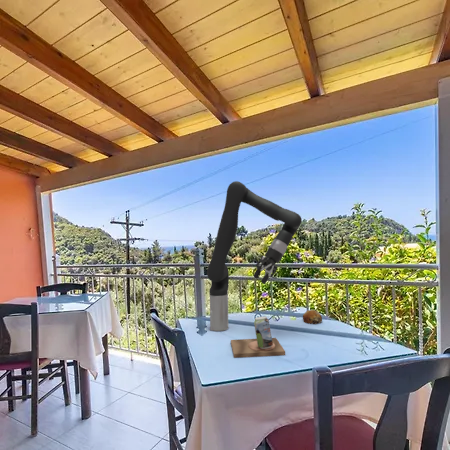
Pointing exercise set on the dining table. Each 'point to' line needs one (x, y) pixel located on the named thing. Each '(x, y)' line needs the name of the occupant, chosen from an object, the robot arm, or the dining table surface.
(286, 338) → the dining table surface
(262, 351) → the serving board
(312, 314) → the bread roll
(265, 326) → the beverage can
